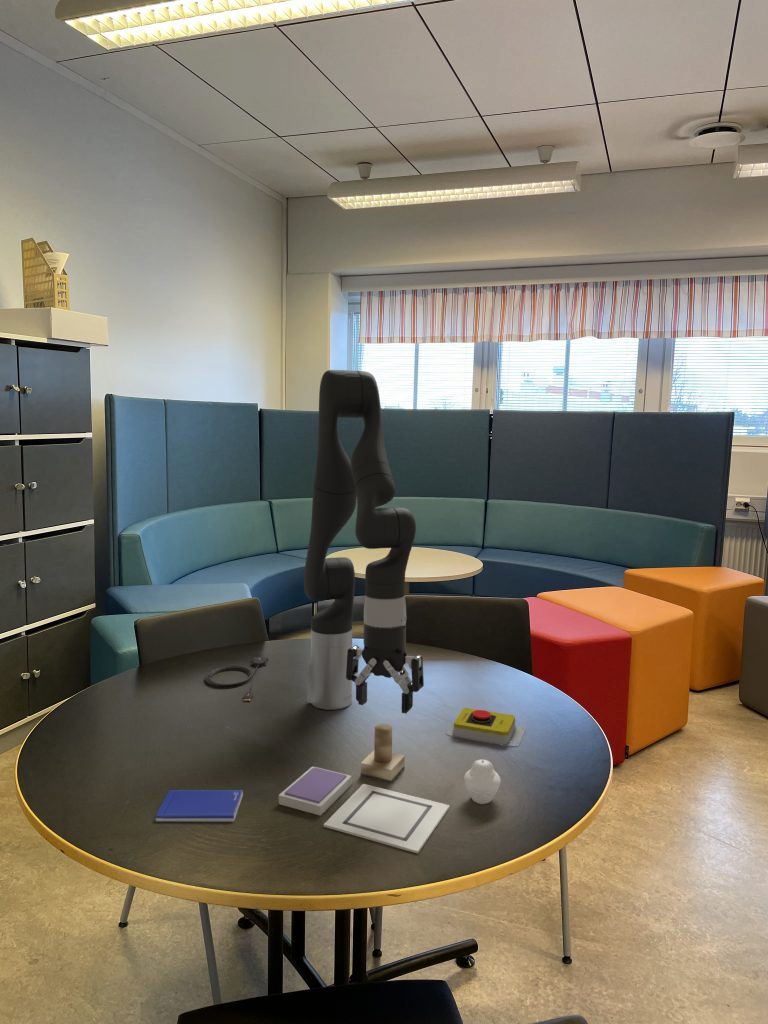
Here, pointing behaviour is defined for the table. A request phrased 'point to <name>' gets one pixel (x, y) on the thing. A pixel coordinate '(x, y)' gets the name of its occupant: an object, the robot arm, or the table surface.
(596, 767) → the table surface
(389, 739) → the stamp
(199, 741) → the table surface
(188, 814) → the blue book
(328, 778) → the ink pad
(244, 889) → the table surface
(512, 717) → the emergency button
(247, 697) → the cable
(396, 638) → the robot arm
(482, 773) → the white rounded piece
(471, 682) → the table surface
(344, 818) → the sheet
